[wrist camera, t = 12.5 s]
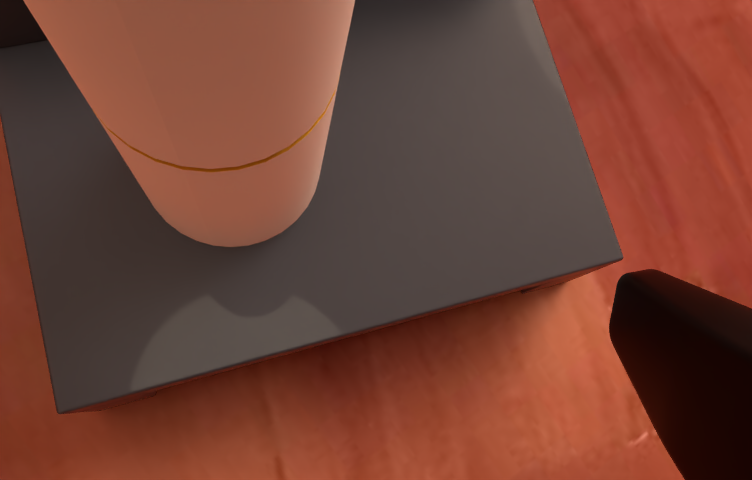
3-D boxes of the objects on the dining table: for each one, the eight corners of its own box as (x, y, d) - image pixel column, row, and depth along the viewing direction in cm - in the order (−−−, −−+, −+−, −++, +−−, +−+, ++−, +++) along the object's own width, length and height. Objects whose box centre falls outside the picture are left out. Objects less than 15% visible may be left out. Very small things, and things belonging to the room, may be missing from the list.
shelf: (568, 281, 21) (694, 231, 15) (96, 412, 18) (3, 419, 12) (471, -8, 23) (547, -162, 16) (28, 72, 20) (-84, -76, 14)
